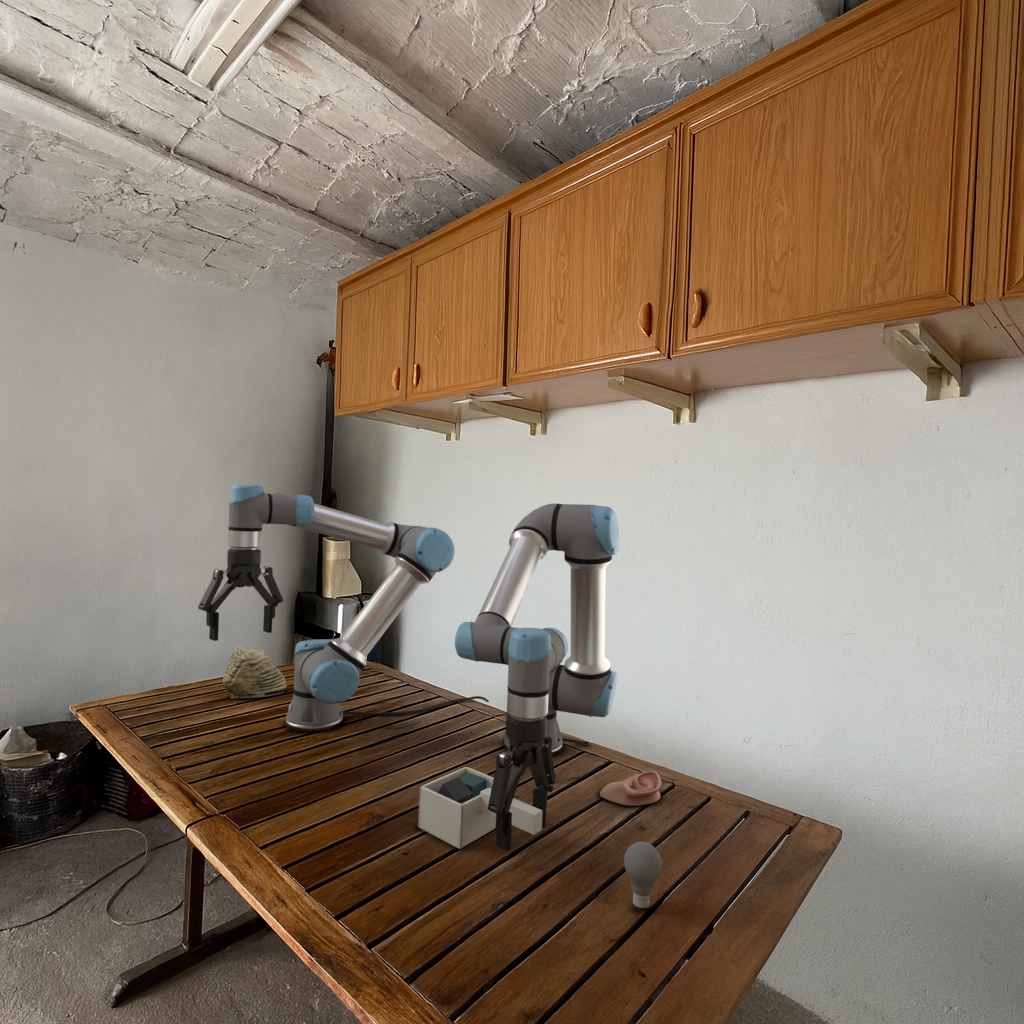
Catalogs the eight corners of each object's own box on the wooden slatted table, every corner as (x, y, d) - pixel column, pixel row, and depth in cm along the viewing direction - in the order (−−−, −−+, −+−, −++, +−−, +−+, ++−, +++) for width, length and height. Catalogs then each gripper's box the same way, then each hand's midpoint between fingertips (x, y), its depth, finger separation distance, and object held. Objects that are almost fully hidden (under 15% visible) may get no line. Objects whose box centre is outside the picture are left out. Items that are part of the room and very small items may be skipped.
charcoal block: (446, 802, 128) (458, 776, 126) (460, 819, 126) (473, 793, 124) (430, 810, 125) (442, 784, 123) (444, 828, 122) (457, 800, 120)
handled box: (464, 803, 133) (466, 762, 133) (557, 846, 118) (559, 800, 118) (417, 827, 123) (419, 782, 123) (513, 877, 108) (515, 826, 108)
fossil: (218, 695, 195) (220, 647, 195) (278, 685, 208) (279, 640, 207) (228, 703, 189) (230, 653, 188) (289, 692, 201) (290, 645, 201)
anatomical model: (599, 783, 136) (602, 762, 148) (598, 802, 136) (601, 779, 148) (662, 792, 134) (661, 769, 145) (661, 810, 134) (660, 787, 145)
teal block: (468, 806, 131) (469, 772, 131) (485, 812, 129) (486, 778, 129) (453, 814, 128) (455, 779, 128) (471, 821, 125) (472, 786, 125)
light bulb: (617, 894, 104) (620, 834, 104) (653, 893, 105) (656, 834, 105) (627, 918, 98) (630, 854, 98) (664, 917, 99) (668, 854, 99)
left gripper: (282, 545, 165) (279, 626, 165) (184, 548, 146) (181, 640, 146) (299, 547, 160) (296, 631, 161) (199, 551, 141) (196, 646, 141)
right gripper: (546, 696, 126) (541, 807, 127) (469, 724, 109) (464, 853, 109) (577, 705, 122) (572, 820, 122) (503, 736, 104) (497, 870, 105)
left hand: (241, 635), depth 153 cm, fingers open, 13 cm apart
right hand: (521, 835), depth 116 cm, fingers open, 10 cm apart
